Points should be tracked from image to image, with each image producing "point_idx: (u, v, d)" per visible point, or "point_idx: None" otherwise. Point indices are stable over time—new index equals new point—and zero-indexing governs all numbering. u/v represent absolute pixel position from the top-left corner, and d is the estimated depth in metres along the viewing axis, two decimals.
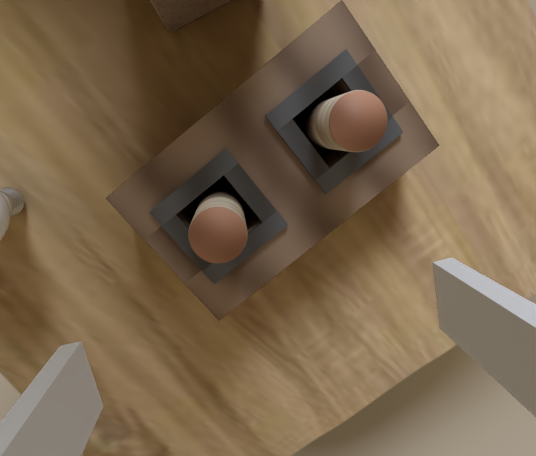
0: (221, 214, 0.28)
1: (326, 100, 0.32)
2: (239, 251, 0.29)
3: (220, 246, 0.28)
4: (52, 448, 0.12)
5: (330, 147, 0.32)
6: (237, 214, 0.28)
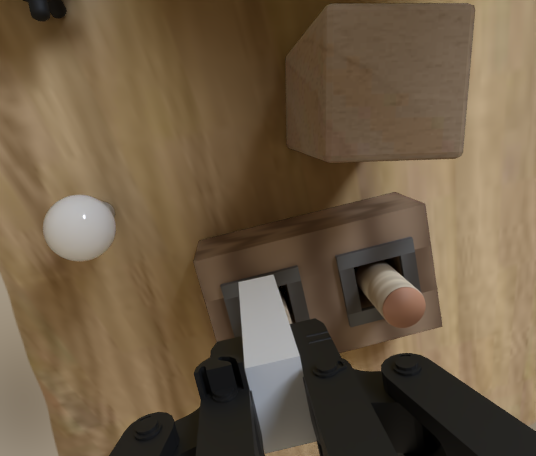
0: None
1: (383, 268, 0.42)
2: None
3: None
4: None
5: None
6: None
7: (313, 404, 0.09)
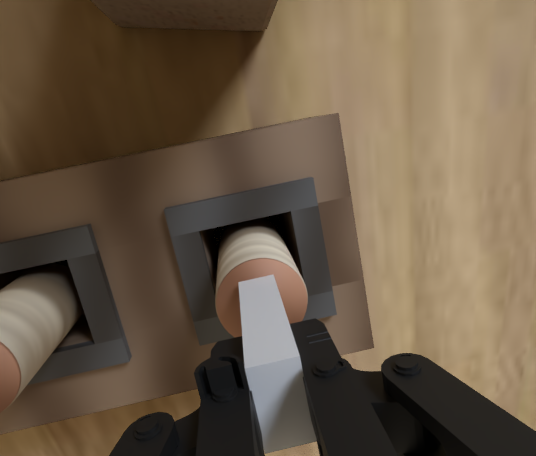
0: None
1: (252, 229, 0.22)
2: None
3: None
4: None
5: None
6: (14, 359, 0.17)
7: (313, 404, 0.09)
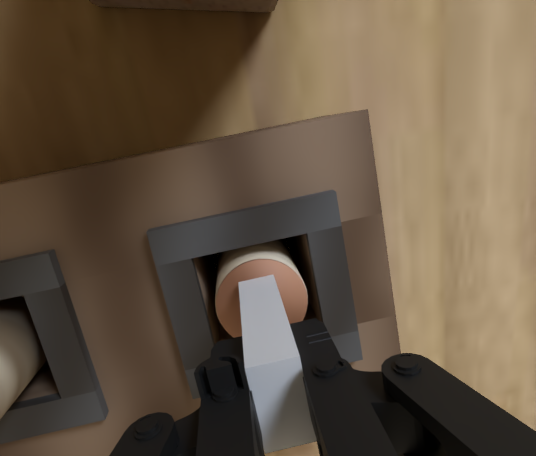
0: None
1: None
2: None
3: None
4: None
5: None
6: None
7: (313, 404, 0.09)
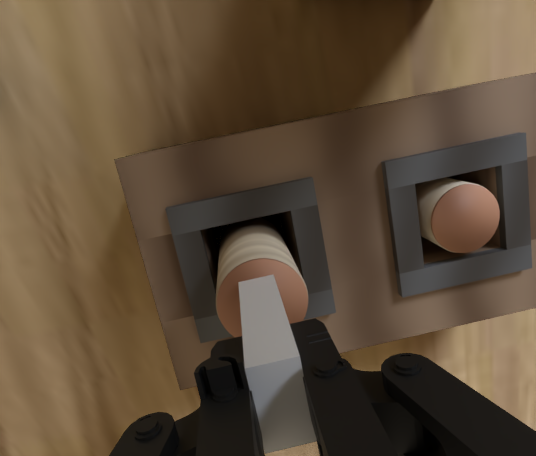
0: (284, 276, 0.18)
1: None
2: None
3: None
4: None
5: None
6: (305, 286, 0.18)
7: (313, 404, 0.09)
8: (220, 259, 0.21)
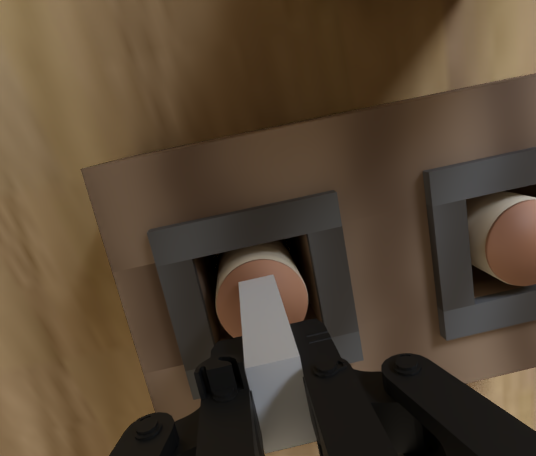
0: (283, 277, 0.18)
1: None
2: None
3: None
4: None
5: None
6: (305, 287, 0.18)
7: (313, 404, 0.09)
8: (220, 260, 0.21)
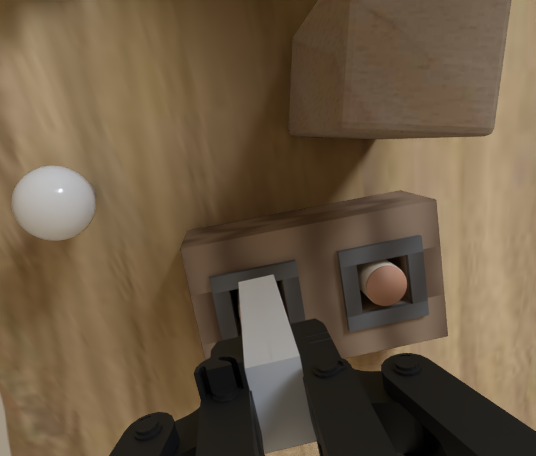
0: None
1: None
2: None
3: None
4: None
5: None
6: None
7: (313, 404, 0.09)
8: (238, 289, 0.42)
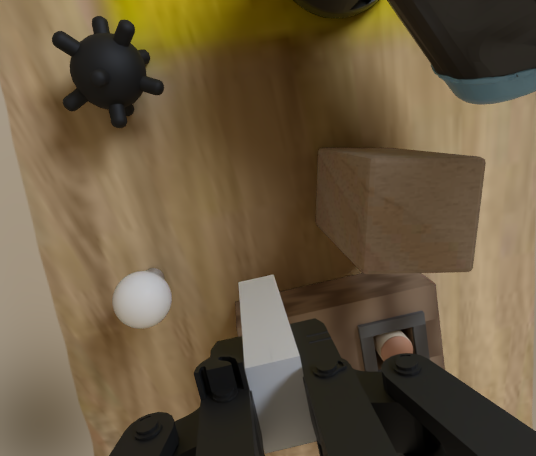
0: None
1: None
2: None
3: None
4: None
5: None
6: None
7: (313, 404, 0.09)
8: None
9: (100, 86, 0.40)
